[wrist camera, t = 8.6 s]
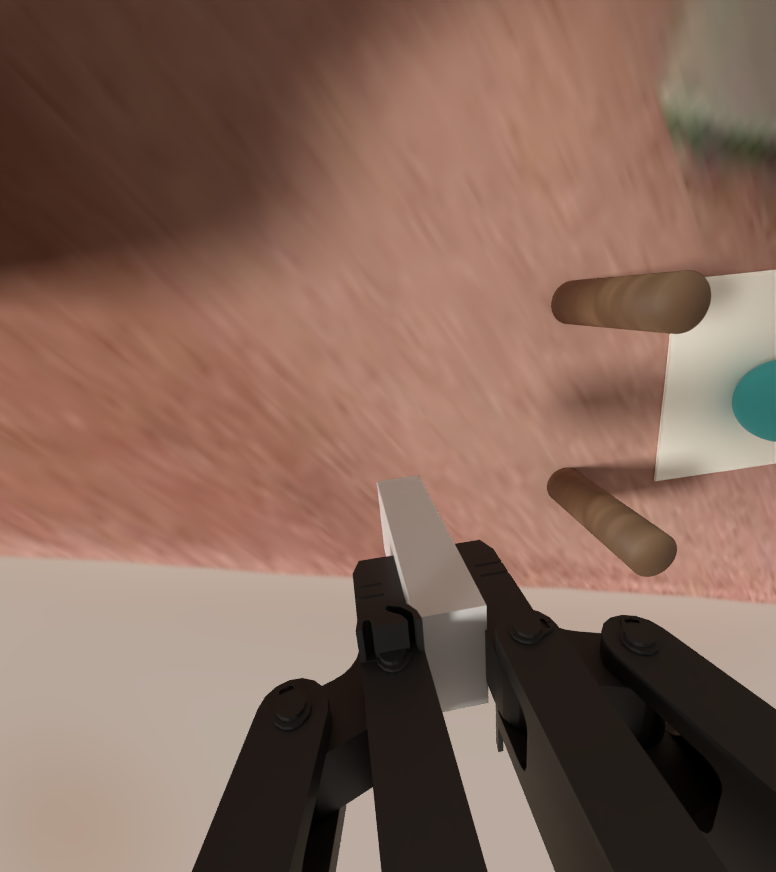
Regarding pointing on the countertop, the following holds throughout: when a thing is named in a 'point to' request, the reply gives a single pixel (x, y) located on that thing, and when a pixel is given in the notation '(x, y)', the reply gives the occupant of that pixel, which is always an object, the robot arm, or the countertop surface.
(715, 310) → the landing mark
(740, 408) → the ball
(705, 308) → the post inner
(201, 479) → the countertop surface
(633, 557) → the post outer
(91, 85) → the countertop surface
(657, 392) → the countertop surface
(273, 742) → the robot arm
